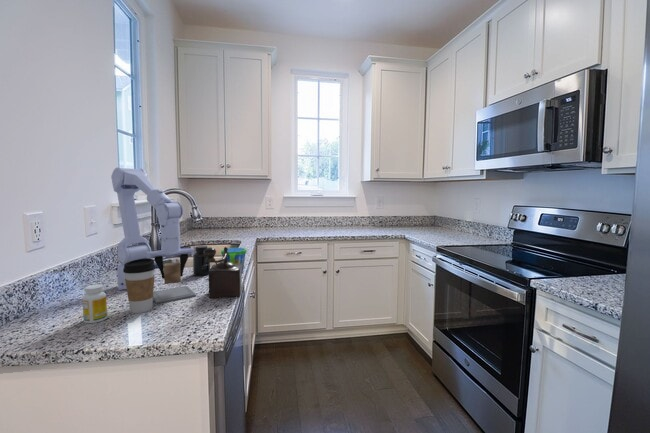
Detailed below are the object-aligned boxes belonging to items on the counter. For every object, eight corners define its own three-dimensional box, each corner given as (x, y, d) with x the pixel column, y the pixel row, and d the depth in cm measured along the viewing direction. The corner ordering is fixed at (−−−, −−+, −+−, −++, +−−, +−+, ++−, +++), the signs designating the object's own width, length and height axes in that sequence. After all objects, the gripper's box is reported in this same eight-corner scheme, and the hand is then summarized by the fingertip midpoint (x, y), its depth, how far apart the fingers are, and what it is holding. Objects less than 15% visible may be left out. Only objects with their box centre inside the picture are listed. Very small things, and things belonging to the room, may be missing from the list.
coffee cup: (163, 306, 99) (161, 259, 98) (139, 316, 91) (137, 265, 90) (143, 303, 102) (140, 257, 101) (118, 312, 94) (115, 263, 93)
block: (164, 284, 106) (163, 266, 106) (164, 280, 110) (163, 263, 110) (180, 282, 108) (180, 264, 108) (180, 278, 113) (179, 262, 112)
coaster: (156, 303, 101) (156, 301, 101) (150, 293, 111) (150, 291, 111) (195, 296, 109) (195, 294, 108) (186, 287, 118) (186, 285, 118)
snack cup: (226, 268, 147) (226, 246, 146) (249, 267, 147) (249, 246, 147) (217, 277, 131) (216, 253, 130) (243, 277, 132) (242, 253, 131)
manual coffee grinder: (211, 289, 116) (210, 240, 114) (242, 287, 118) (241, 240, 116) (203, 304, 101) (201, 249, 99) (239, 302, 103) (238, 247, 101)
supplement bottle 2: (206, 276, 133) (205, 248, 132) (190, 276, 133) (189, 248, 132) (212, 272, 140) (212, 245, 139) (197, 271, 140) (196, 245, 139)
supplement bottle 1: (80, 324, 86) (77, 290, 85) (89, 316, 91) (87, 284, 90) (102, 322, 87) (100, 288, 86) (110, 315, 92) (108, 283, 91)
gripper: (145, 241, 101) (147, 282, 102) (194, 238, 108) (196, 277, 109) (146, 238, 107) (148, 277, 108) (192, 235, 114) (194, 272, 115)
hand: (172, 276), depth 109 cm, fingers closed on block, 5 cm apart
